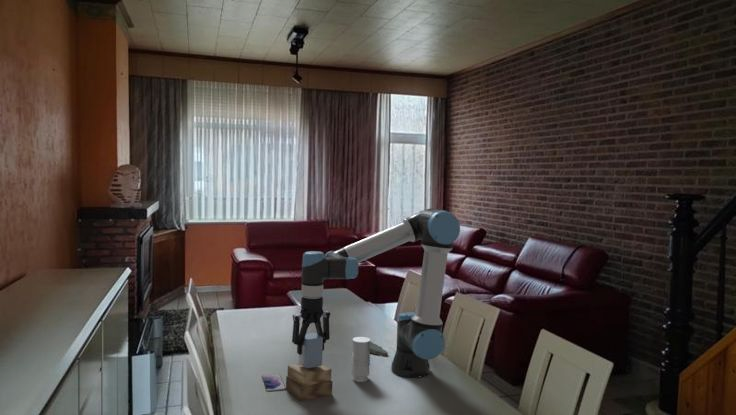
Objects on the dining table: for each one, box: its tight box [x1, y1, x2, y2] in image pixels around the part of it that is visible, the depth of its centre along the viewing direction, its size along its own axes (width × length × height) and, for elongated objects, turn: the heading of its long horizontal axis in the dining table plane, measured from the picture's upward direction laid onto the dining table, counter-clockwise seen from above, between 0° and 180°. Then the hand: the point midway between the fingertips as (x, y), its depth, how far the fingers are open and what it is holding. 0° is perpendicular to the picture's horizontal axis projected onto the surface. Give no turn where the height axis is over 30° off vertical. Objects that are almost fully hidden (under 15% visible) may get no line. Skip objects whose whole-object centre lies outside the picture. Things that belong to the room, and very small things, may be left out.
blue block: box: [298, 332, 323, 368], centre depth 185 cm, size 6×6×10 cm
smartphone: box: [261, 373, 287, 393], centre depth 192 cm, size 7×1×15 cm
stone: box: [369, 341, 389, 357], centre depth 231 cm, size 17×3×10 cm
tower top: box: [287, 362, 332, 387], centre depth 185 cm, size 11×11×4 cm
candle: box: [351, 336, 371, 383], centre depth 198 cm, size 7×7×15 cm
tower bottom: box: [285, 375, 333, 403], centre depth 185 cm, size 12×12×5 cm
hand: (310, 361), depth 185 cm, fingers closed on blue block, 6 cm apart
